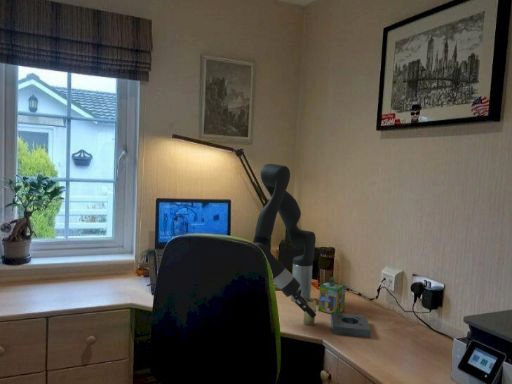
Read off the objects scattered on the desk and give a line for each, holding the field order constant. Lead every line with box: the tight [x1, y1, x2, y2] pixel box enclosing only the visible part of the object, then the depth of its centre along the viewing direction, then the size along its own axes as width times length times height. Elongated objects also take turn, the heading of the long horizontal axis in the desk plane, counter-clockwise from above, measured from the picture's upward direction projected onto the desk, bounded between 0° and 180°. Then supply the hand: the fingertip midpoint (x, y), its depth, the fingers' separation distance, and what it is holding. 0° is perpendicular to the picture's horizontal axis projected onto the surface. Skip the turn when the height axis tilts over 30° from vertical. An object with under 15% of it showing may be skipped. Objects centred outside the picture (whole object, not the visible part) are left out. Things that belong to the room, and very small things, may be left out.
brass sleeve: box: [302, 298, 317, 327], centre depth 166 cm, size 4×4×10 cm
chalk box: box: [318, 276, 347, 314], centre depth 183 cm, size 9×9×15 cm
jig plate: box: [330, 312, 372, 339], centre depth 164 cm, size 16×14×3 cm
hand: (314, 314), depth 166 cm, fingers closed on brass sleeve, 4 cm apart
